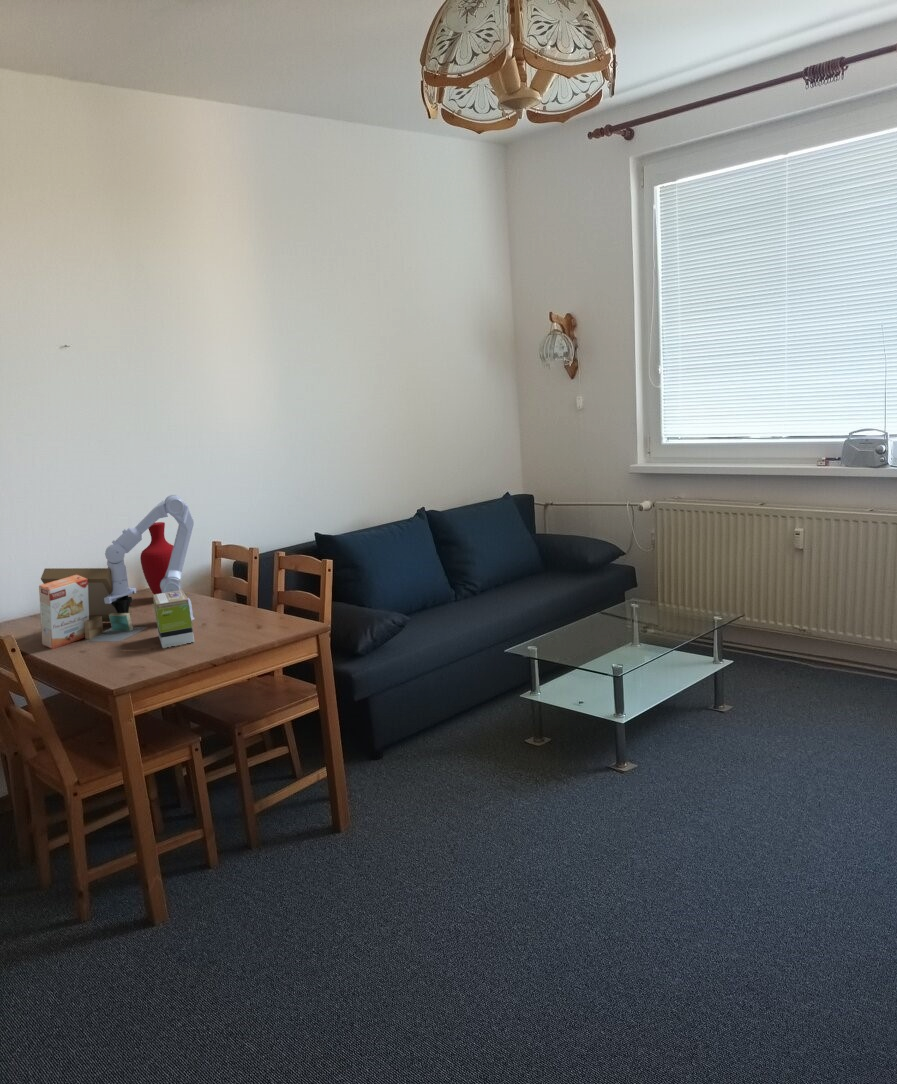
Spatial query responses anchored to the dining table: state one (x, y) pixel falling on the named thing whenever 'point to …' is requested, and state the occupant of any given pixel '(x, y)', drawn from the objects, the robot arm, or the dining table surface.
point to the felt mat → (116, 635)
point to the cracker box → (63, 610)
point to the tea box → (173, 618)
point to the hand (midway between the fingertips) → (123, 618)
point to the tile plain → (93, 627)
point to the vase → (156, 557)
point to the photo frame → (89, 587)
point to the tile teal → (121, 621)
